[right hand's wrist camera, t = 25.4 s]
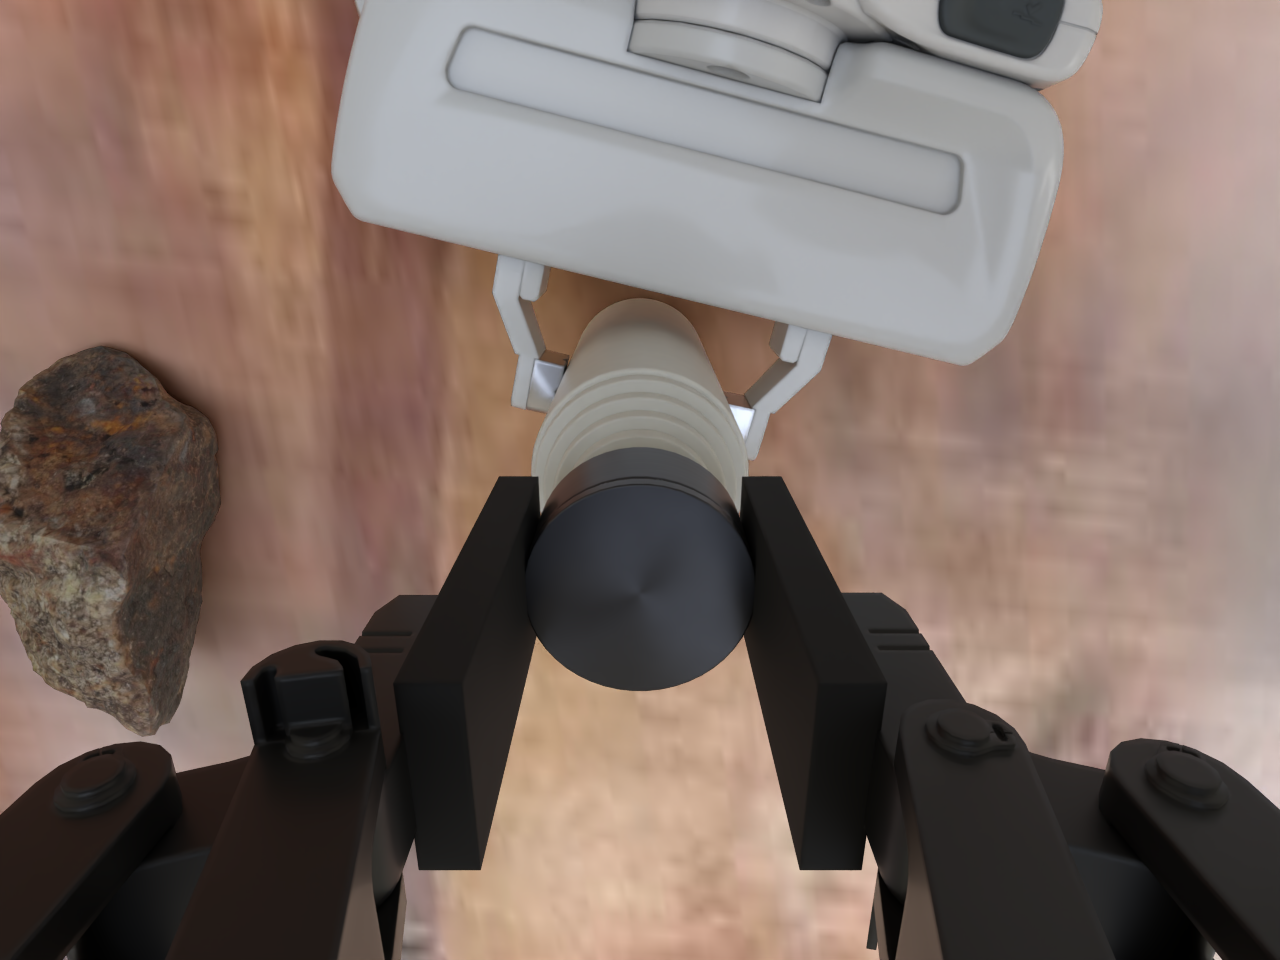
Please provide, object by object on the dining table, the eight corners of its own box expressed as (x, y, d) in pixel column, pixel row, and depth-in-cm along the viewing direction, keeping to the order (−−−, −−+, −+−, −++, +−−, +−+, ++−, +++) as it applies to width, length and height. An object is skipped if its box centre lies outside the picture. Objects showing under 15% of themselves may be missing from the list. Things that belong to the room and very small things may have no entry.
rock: (287, 387, 32) (46, 323, 31) (171, 429, 24) (-164, 343, 23) (242, 676, 36) (26, 627, 35) (128, 800, 27) (-160, 740, 26)
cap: (563, 645, 15) (553, 708, 13) (515, 466, 14) (495, 508, 12) (754, 612, 15) (772, 671, 13) (725, 427, 14) (738, 463, 12)
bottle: (550, 374, 31) (434, 595, 13) (628, 270, 29) (612, 368, 12) (649, 448, 32) (662, 742, 15) (730, 352, 31) (850, 550, 13)
